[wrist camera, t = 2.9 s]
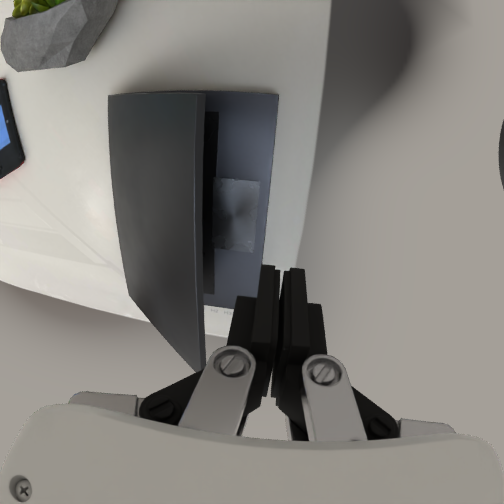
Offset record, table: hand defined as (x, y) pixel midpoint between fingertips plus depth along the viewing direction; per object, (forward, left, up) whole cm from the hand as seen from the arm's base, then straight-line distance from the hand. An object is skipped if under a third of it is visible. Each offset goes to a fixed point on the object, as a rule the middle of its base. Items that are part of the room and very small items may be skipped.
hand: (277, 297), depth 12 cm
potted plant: (+11, -28, -22) cm, 37 cm away
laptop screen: (+13, -1, -14) cm, 19 cm away
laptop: (+11, 0, -22) cm, 24 cm away
